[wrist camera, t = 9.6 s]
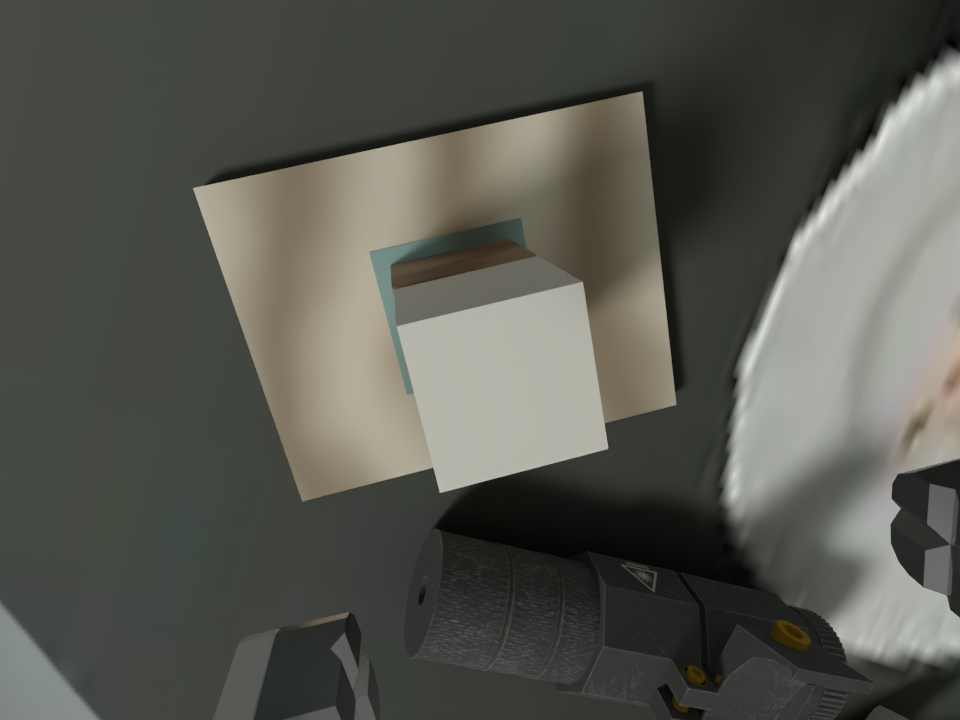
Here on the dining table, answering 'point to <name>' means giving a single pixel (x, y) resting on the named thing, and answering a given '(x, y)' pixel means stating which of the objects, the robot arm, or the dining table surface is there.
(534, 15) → the dining table surface
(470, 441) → the cream block
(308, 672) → the robot arm
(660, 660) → the laser sight
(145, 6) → the dining table surface
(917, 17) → the dining table surface
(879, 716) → the toy gun
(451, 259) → the walnut block
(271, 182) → the beige rectangular board
